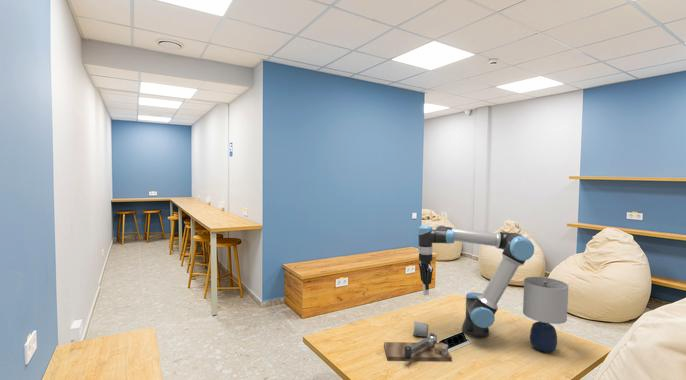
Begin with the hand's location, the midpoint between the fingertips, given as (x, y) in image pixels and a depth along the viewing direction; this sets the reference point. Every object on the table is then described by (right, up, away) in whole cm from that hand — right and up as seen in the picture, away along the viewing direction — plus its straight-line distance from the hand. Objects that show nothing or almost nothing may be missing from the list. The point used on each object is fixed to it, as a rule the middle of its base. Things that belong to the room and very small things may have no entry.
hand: (426, 294), depth 199 cm
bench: (-9, -26, -16) cm, 31 cm away
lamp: (+60, -26, -10) cm, 66 cm away
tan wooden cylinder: (+2, -24, -19) cm, 30 cm away
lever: (-7, -22, -20) cm, 30 cm away
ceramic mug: (-2, -25, +5) cm, 25 cm away
